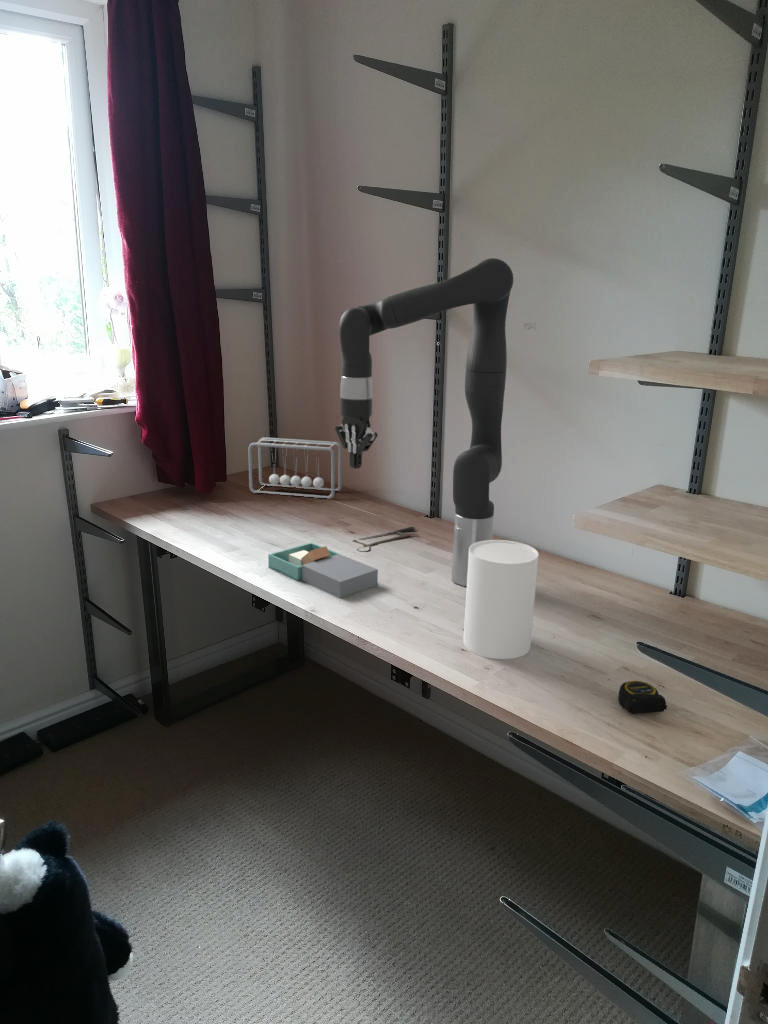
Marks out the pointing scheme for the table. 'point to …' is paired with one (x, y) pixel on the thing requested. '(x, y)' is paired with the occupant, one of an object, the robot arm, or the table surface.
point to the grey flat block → (339, 575)
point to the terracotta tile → (315, 555)
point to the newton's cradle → (296, 480)
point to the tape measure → (640, 698)
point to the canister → (500, 598)
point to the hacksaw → (400, 532)
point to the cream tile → (297, 557)
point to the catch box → (282, 565)
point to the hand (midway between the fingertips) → (355, 467)
